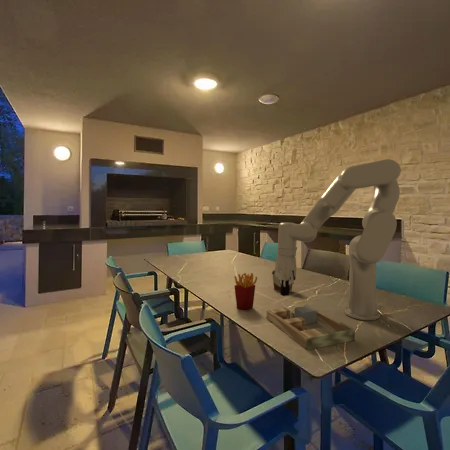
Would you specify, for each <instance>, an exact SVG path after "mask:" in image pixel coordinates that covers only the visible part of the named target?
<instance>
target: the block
mask: <svg viewBox="0 0 450 450" xmlns="http://www.w3.org/2000/svg"><path fill="white" fill-rule="evenodd" d="M317 311H318V310H316V309H314V308H312V307H311V306H309V305H307V306H304V305H303V306H298V307H294V313H293V314H294V317H293V318H297V317H301V318H303V319H305V320H306V321H305V325H308V324H313V323H317V322H318V320H317Z"/></svg>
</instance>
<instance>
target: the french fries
mask: <svg viewBox="0 0 450 450" xmlns="http://www.w3.org/2000/svg"><path fill="white" fill-rule="evenodd" d="M237 276H238V278H237ZM257 280H258V276H255V278H254V273H253V272H252V273H251V272H250V273H248V274H247V273H246V272H244V273H242V275H241V274H240V273H238V274H237V275H234V282H235V284H236V285H234V287H233V288H234V292H235V302H236V303H235V304H236V309H238V310H240V311H244V312H247V311H249V310H251V309H253V308H254V302H255V293H256V285H255V284H256V283H257Z"/></svg>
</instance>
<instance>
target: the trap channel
mask: <svg viewBox="0 0 450 450" xmlns="http://www.w3.org/2000/svg"><path fill="white" fill-rule="evenodd" d="M303 306H308V305H307V304H304V305H303ZM266 319H267V320H268V321H270V322H271V323H272V324H274V325H275V326H276V327H277V328H279V329H280V330H281V331H283V332H284V333H285V334H286V335H287V336H289V337H290V338H291V339H292V340H294V341H295V342H297V344H299V345H301V346H302V347H303V348H304V349H306V351H308V350H309V351H310V350H314V349H319V348H325V347H328V346H329V347H330V346H333V345H338V344H342V343H347V342H353V341H355V337H356V330H355V329H354V328H353V327H352V326H350V325H348V324H346V323H344V322H342V321H341V322H339V321H336V320H335V319H333V318H331V317H329V316H327V315H326V314H324V313H322V312H320V311H319V310H317V322H319V323H321V324H323V325H325V326H326V327H328V328H330V329H332V330H333V331H334V332H330V333H327V332H325V331H324V330H322V329H320V327H317V328H311V329H306V324H305V321H306V320H305V319H303V318H301V317H297V318H294V317H292V318H291V309H288V308H287V307H283V308H282V307H281V308H274V309H267V310H266ZM305 329H306V330H305Z"/></svg>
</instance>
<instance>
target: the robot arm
mask: <svg viewBox="0 0 450 450" xmlns="http://www.w3.org/2000/svg"><path fill="white" fill-rule="evenodd" d="M401 172H402V169H401V166H400V164H399V162H397V161H396V160H393V159H391V158H390V159H389V158H387V159H381V160H376V161H372V162H366V163H363V164H358V165H352V166H349V167H346V168H344V169H343V170H342V171H341V172H339V174H338V175H337V177H336V178H335V179H334V180H333V182H332V183H331V184H330V185H329V186H328V188H327V189H326V191H325V192H324V193H323V194H322V195H321V196H320V198H319V199H318V200H317V202H316V203H315V204H314V206H313V208H312V209H311V210H310V211H309V212H308V214H307V215H306V216H305V217H304V218H303V220H302V221H301V222H300V223H294V222H288V221H287V222H286V221H285V222H280V223H278V224H279V225H278V231H277V232H278V233H277V254H276V258H275V266H274V270H275V276H276V277H278V279H279V280H280V285H282V286H281V291H280V296H282V297H286V296H290V294H289V287H290V285H291V284H292V285H294V284H295V281H296V279H297V258H296V257H297V241H299V242H303V243H304V242H305V243H310V242H312V241H314V240H315V239H316V238H317V235H318V231H319V230H320V228H321V227H322V226H323V225H324V223H325V222H326V221H327V220H329V218H331V217H332V216H334V215H335V214H336V213H337V212H338V211H340V209H341V207H343V205H344V204H345V203H346V201H347V200H348V199H349V198H350V197H351V196H352V194H353V193H354V192H355V191H356V190H358V189H365V188H370V187H371V188H372V187H373V190H374V191H373V196H372V199H371V202H370V203H369V206H368V208H367V210H366V212H365V214H364V215H363V218H362V222H361V224H362V228H363V231H362V234H361V235H357V236H355V237H353V238H352V239H351V241H350V242H349V245H348V259H349V274H348V276H349V279H348V280H349V281H348V283H349V284H348V285H349V286H348V306H347V307H345V308H344V310H343V311H344V314H345V315H346V316H348V317H350V318H352V319H357V320H360V321H375V320H376V321H377V320H379V319H380V313H379V312H378V310H380V309H384V307H385V305H384V304H383V302H382V303H376V295H377V294H376V291H377V263H378V262H380V261H381V259H383V257H384V255H385V254H386V252H387V250H388V247H389V245H390V244H391V241H392V239H393V237H394V235H395V233H396V231H397V223H398V222H397V218H396V216H395V215H394V211H395V209H396V207H397V205H398V202H399V199H400V194H401V193H400V190H401V189H400V186H399V182H398V178H399V176H400V175H401Z"/></svg>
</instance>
